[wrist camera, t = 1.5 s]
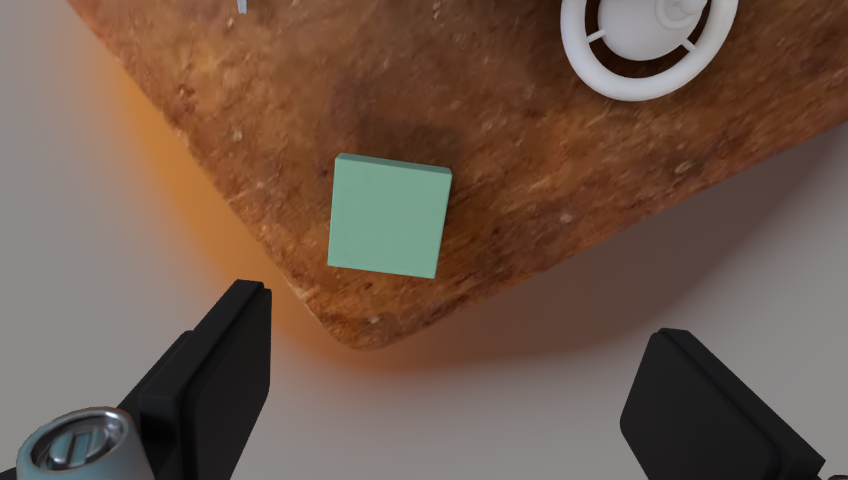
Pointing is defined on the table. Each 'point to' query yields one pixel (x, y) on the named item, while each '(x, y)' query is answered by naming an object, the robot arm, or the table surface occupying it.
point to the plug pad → (387, 215)
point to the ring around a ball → (644, 41)
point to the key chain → (243, 6)
